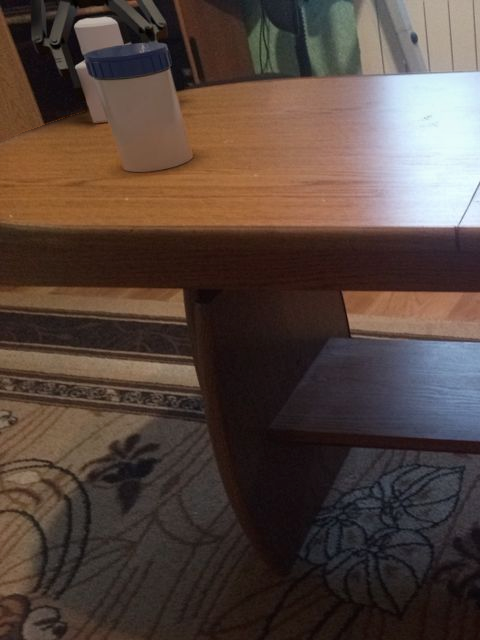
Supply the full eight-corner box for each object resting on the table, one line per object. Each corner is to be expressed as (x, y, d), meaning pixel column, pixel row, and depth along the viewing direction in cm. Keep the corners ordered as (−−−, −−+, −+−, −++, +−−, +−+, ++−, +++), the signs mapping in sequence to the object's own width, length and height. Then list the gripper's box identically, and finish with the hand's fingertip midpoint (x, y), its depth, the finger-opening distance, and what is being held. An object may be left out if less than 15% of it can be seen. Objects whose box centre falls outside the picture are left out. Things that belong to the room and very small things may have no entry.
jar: (107, 172, 75) (71, 63, 70) (147, 151, 81) (117, 49, 76) (170, 172, 74) (138, 61, 68) (205, 150, 80) (179, 47, 74)
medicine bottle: (105, 111, 100) (75, 16, 94) (159, 105, 101) (132, 10, 95) (92, 124, 94) (59, 23, 88) (149, 118, 95) (120, 17, 89)
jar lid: (72, 79, 70) (65, 58, 69) (120, 63, 77) (114, 44, 76) (144, 77, 69) (138, 56, 68) (187, 61, 75) (182, 41, 74)
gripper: (158, -43, 104) (207, 92, 100) (-11, -27, 97) (35, 120, 93) (152, -87, 97) (204, 56, 93) (-31, -73, 90) (18, 83, 86)
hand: (120, 88), depth 93 cm, fingers closed on medicine bottle, 9 cm apart
